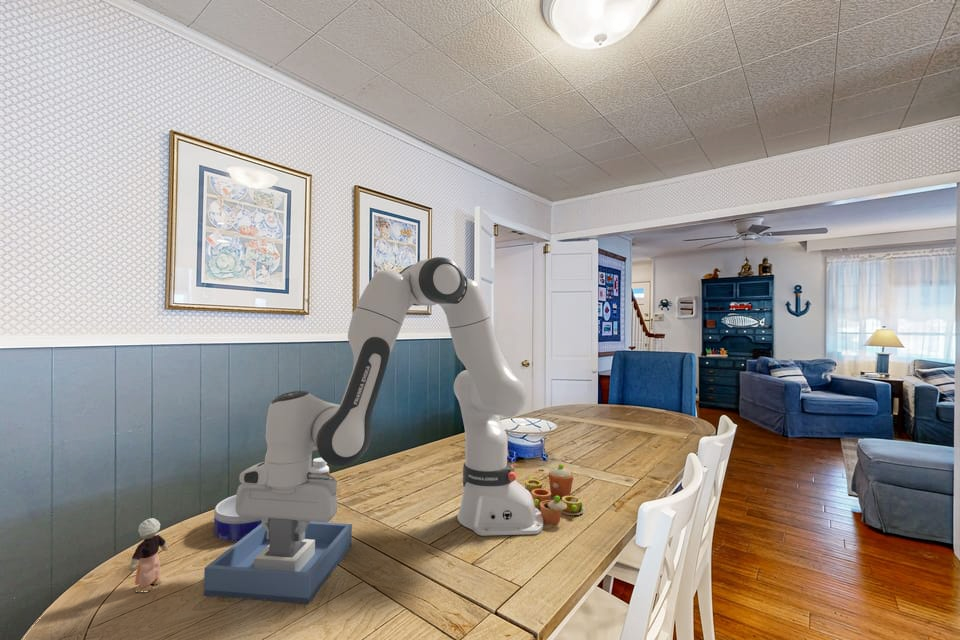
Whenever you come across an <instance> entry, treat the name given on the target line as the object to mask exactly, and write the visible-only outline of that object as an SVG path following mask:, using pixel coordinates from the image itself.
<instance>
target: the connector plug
mask: <svg viewBox="0 0 960 640" xmlns="http://www.w3.org/2000/svg"><path fill="white" fill-rule="evenodd" d="M301 527H302V526H301V525H300V521H297V520H289V519H275V518H272V519H270V543H269V556H278V557H291V558H292V557H293V556H294V555H295V554H296V553H297V552H298V551H299V550H300V549H301V542H300V541H294V538H295V537H294V533H295V532H297V530H298V529H301Z"/></svg>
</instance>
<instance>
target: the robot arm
mask: <svg viewBox="0 0 960 640" xmlns="http://www.w3.org/2000/svg"><path fill="white" fill-rule="evenodd" d="M436 305H439V306H440V307H441V309H442V310H443V312H444V313H445V314H444V315H445V316H446V320H447V325H448V328H449V333H450V335H451V340H452V343H453V348H454V352H455V355H456V356H457V358H458V360H460V362H461V363H462V364H463V366H464V368H465V370H462V371H461V372H459V373H458V374H457V376H455V380H454V382H453V393H454V395H455V396H456V398H457V400H458V404H459V407H460V411H461V417H462V421H463V426H464V433H465V434H464V435H465V436H464V437H465V447H464V448H465V451H464V452H465V454H464V457H465V458H464V463H463V466H462V486H463V489H462V497H461V501H460V507H459V509H458V514H457V517H456V518H457V521H458V523H459V524H460V525H462V526H464V527H465V528H468V529H469V530H471V531H473V532H474V533H475V534H476V535H479V536H482V537H483V536H513V535H514V536H515V535H516V536H517V535H520V536H521V535H537V534H540V533H541V532H542V531H543V530H544V524H545V523H544V522H543V517H542V516H541V510H539V508H536V507H535V505H534V500H533V498H532V495H531V493H530V492H529V491H528V490H527V489H525V486H523V484H520V483H519V482H518V481H517V480H516V479H517V473H516V471H515V468H514V466H513V465H512V464H511V465H510V464H508V435H507V434H508V433H507V431H506V430H505V428H504V427H503V425H502V422H501V418H509V417H510V418H511V417H514V416H517V415H518V414H519V413H521V412H522V410H523V409H524V407H525V405H526V403H527V391H526V387H525V384H524V383H523V382H522V381H521V380H519V378H518V377H517V376H516V375H515V374H514V372H513V370H512V369H511V367H510V366H509V364H508V361H507V360H506V358H505V356H504V354H503V352H502V350H501V347H500V346H499V343H498V340H497V336H496V334H495V329H494V325H493V322H492V318H491V314H490V310H489V307H488V303H487V302H486V299H485V296H484V294H483V291H482V289H481V287H480V285H479V284H478V283H477V282H476V280H473V279H471V278H467V277H466V275H464V273H463V271H462V268H461V267H460V266H459V265H458V264H457V263H456V262H455V261H453V260H452V259H449V258H447V257H442V256H441V257H439V256H437V257H436V256H435V257H433V258H426V259H422V260H419V261H418V262H415V263H413V264H411V265H408V266H406V267H405V268H403V269H402V270H401V271H400V272H397V271H395V270H394V271H393V270H389V269H388V270H380V271H378V272H376V273H375V274H374V275H372V278H371V279H370V281H369V282H368V283H367V285H366V287H365V288H364V289H363V292H362V294H361V296H360V298H359V300H358V301H357V304H356V307H355V308H354V310H353V313H352V316H351V319H350V322H349V327H348V332H347V340H348V343H349V346H350V348H351V351H352V356H353V367H352V371H351V374H350V377H349V379H348V383H347V386H346V388H345V391H344V394H343V397H342V399H341V402H340V404H337V403H333V402H329V401H326V400H323V399H320V398H318V397H317V396H315V395H313V394H312V393H310V392H308V391H307V390H299V391H298V390H294V391H291V392H285V393H282V394H281V395H280V394H279V395H278V396H276V397H275V398H274V399H272V401H271V402H270V404H269V407H268V411H267V415H266V425H265V441H266V445H267V450H266V453H265V456H264V461H262V462H259V463H256V464H254V465H252V466H251V467H248V468H246V469H245V470H243V471H242V472H240V474H239V476H238V477H239V482H240V483H241V484H239V485H238V488H237V490H236V494H235V495H236V505H235V510H236V513H237V514H238V515H239V516H240V517H254V518H262V524H263V526H264V528H265V530H266V531H267V539H270V519H272V518H275V519H289V520H297V521H300V525H301V526H302V527H301V529H298V530H297V532H295V533H294V537H295V538H294V541H300V542H302V541H303V540H304V538H305V530H306V529H307V527H308V525H309V524H310V522H311V521H312V522H327V523H329V522H330V521H331V520H332V519H333V518H334V517H335V515H336V514H337V513H338V498H337V491H338V481H337V479H336V478H335V477H333V476H332V475H331V473H329V474H319V473H311V467H312V464H313V460H312V458H313V457H312V454H313V452H314V451H318V454H319V456H320V458H322V459H323V460H324V461H325V462H327V464H329V465H331V466H335V467H344V466H350V465H352V464H353V463H356V462H357V461H359V460H360V459H361V458H362V457H363V456H364V455H365V453H366V452H367V451H368V449H369V446H370V443H371V438H372V432H371V431H372V430H371V429H372V428H371V427H372V425H371V422H372V414H373V411H374V408H375V404H376V402H377V399H378V396H379V392H380V390H381V389H380V388H381V386H382V383H383V380H384V377H385V373H386V370H387V367H388V362H389V360H390V357H391V354H392V351H393V348H394V346H395V343H396V342H397V341H396V340H397V339H398V335H399V334H400V331H401V328H402V326H403V323H404V321H405V318H406V314H407V313H408V311H409V310H410V308H411V307H413V306H417V307H418V306H419V307H420V306H424V307H425V306H426V307H427V306H428V307H429V306H430V307H431V306H436Z"/></svg>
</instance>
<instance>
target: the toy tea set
mask: <svg viewBox="0 0 960 640" xmlns="http://www.w3.org/2000/svg"><path fill="white" fill-rule="evenodd" d="M548 480H549V490H548V489H546V488H543V482H542V481H541V480H539V479H535V478H532V477H529V478H527V479H525V481H524V488H525V489H527V490H528V491H529V492H530V493H531V495H532V498H533V500H534V505H535V508H536V507H538V508H537V509H540V508H541V509H540V512H541V516H542V517H543V523H544V524H546V523H547V524H546V525H550V524H555V525H559V524H560V521H561V515H562V514H564V515H567V516H570V515H571V516H570V517H575V516H574V515H579V516H581V515H580V514H582V513H583V512H584V513H585V511H584V508H583V506H584V504H583V502H582V499H581V497H578V496H574V495H571V492H572V489H573V488H572V487H573V483H574V474H573V473H572V472H570V470H569V469H567V468H565V467H564V464H562V463H560V464H558V467H554V468H553V469H551V470H550V471H549V472H548ZM552 495H553V496H555V497H554V499H553V500H552V499H551V498H552V497H553V496H552ZM560 498H562V499H560ZM584 513H583V514H584ZM583 514H582V515H583ZM572 515H573V516H572Z"/></svg>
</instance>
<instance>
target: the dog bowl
mask: <svg viewBox="0 0 960 640" xmlns="http://www.w3.org/2000/svg"><path fill="white" fill-rule="evenodd" d="M236 495H237V494H235V495H232V496H228V497H227V498H225V499H222V500H221V501H220V502H218V503H217V504H216V506H215V507H214V513H213V514H214V517H213V518H214V519H213V522H214V525H213V527H214V529H213V531H214V536H215V538H217V539H219V540H222V541H225V542H238V541H240V540H241V539H242V538H243V537H245V536H246V535H247V534H249V533H250V532H251V531H252V530H254V529H255V528H256V527H258V526H259V525H260V524H261V523H262V518H254V517H240V516H239V515H238V514H237V513H236V510H235V505H236Z"/></svg>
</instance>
